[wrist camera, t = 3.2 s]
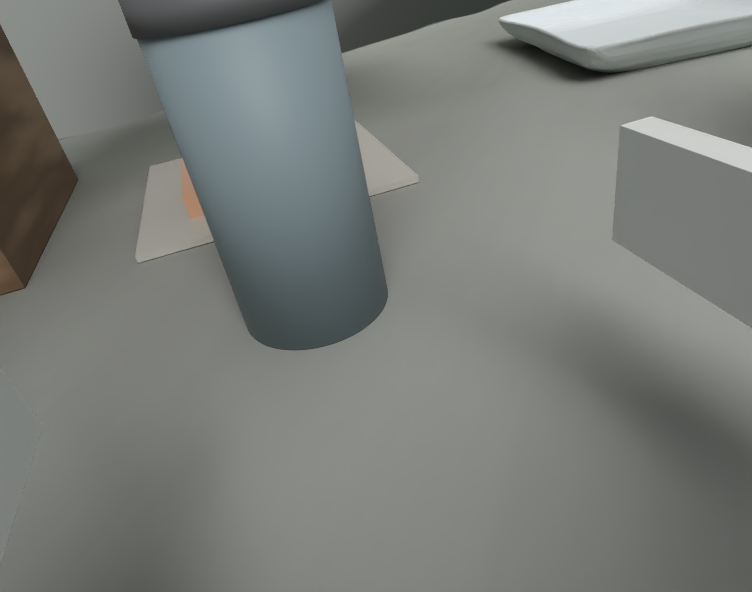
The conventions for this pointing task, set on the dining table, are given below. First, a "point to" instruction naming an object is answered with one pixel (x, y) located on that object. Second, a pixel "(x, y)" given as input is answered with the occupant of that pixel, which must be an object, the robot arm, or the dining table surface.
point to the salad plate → (633, 31)
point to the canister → (270, 158)
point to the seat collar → (187, 221)
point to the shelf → (26, 174)
